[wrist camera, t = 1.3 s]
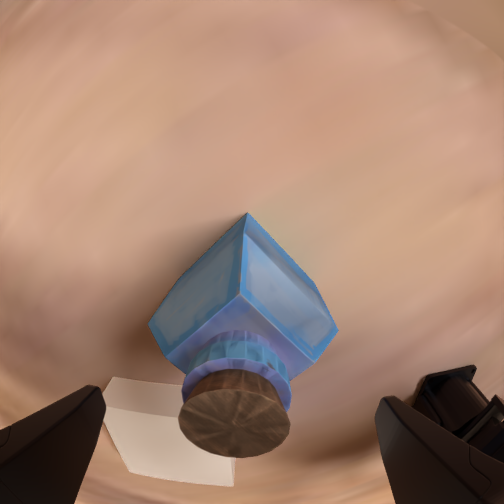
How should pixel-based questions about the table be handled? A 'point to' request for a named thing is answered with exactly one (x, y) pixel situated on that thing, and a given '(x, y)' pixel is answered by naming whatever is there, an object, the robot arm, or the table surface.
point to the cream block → (158, 434)
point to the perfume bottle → (241, 340)
